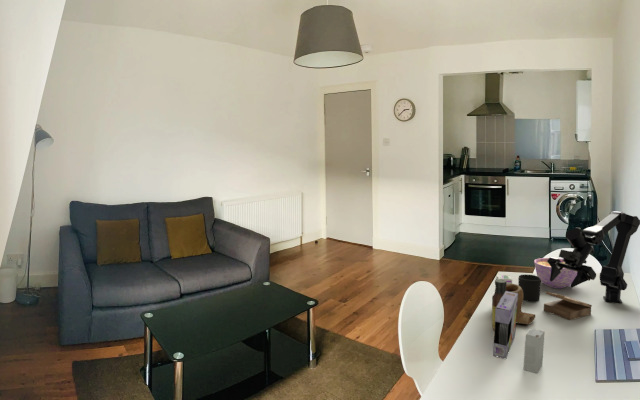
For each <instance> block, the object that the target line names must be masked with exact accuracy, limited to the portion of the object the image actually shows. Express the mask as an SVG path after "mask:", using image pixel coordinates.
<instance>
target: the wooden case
mask: <svg viewBox="0 0 640 400" xmlns="http://www.w3.org/2000/svg"><path fill="white" fill-rule="evenodd" d="M543 311H544V312H547V313H550V314H552V315H555V316H558V317H560V318H562V319H566V320H569V321H572V320H575V319H580V318H584V317H587V316H591V315H592V307H588V306H584V305H580V304H576V303H572V302H569V301H566V300H563V299H558V300H553V301H548V302H545V303H543Z"/></svg>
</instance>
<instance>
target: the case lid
mask: <svg viewBox="0 0 640 400" xmlns="http://www.w3.org/2000/svg"><path fill="white" fill-rule="evenodd" d="M545 295H549V296H552V297H554V298H557V299H559V300H561V299H563V300H566V301H569V302H572V303H576V304H580V305H584V306H588V307H591V308H592V306H593V305H592V304H590V303H587V302H584V301H580V300H579V299H575V298H572V297H568V296H565V295H563V294H559V293H555V292H554V293H553V292H551V291H550V292H549V291H545Z"/></svg>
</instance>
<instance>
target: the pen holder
mask: <svg viewBox="0 0 640 400" xmlns="http://www.w3.org/2000/svg"><path fill="white" fill-rule="evenodd" d="M517 285H519V286H520V287H521V288H522V290H523V302H524V301H525V302H531V303H533V302H539V301H540V298H541V297H540V296H541V288H542V287H541V286H542V282H541V279H540V278H539V277H538V276H537V275H534V274H520V275H518V284H517Z"/></svg>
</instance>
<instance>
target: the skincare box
mask: <svg viewBox="0 0 640 400" xmlns="http://www.w3.org/2000/svg"><path fill="white" fill-rule="evenodd" d="M544 345H545V331H544V330H541V329H536V328H529V330H528V331H527V332H526V334H525V341H524V353H523V355H524V356H523V371H526V372H528V373H529V372H530V373H533V374H538V373H539V371H540V370H541V368H543V361H544V360H543V358H544V348H545V346H544Z"/></svg>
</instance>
